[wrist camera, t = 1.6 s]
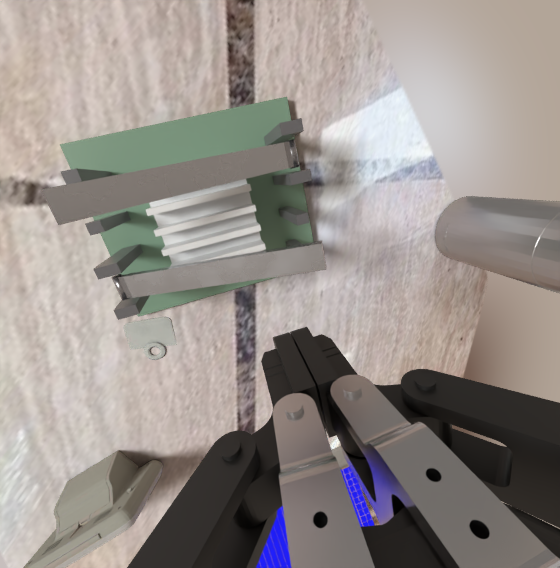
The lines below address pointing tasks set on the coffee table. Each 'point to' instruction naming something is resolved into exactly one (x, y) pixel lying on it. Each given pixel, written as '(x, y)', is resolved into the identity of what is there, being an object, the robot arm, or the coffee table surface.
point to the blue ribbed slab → (276, 552)
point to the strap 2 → (223, 271)
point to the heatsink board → (195, 198)
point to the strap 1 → (165, 181)
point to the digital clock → (96, 509)
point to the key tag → (150, 335)
